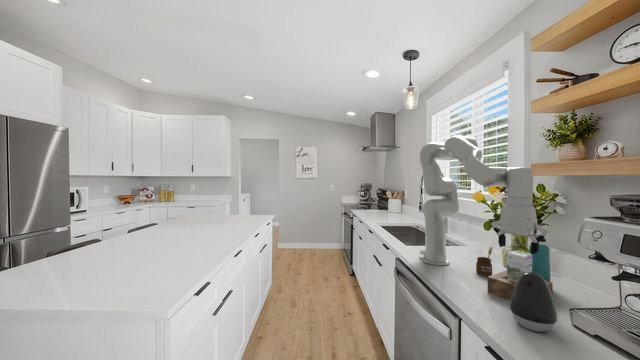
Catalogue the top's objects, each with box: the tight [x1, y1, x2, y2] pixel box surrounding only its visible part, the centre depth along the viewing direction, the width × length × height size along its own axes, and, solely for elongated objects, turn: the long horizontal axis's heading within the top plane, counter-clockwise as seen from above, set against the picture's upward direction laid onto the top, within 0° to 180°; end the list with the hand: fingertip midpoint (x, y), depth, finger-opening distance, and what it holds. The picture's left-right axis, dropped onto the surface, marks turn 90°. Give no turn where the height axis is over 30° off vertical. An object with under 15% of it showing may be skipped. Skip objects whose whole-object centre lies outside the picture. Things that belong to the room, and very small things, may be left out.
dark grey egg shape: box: [509, 272, 558, 333], centre depth 73 cm, size 10×10×15 cm
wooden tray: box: [487, 269, 554, 302], centre depth 92 cm, size 14×14×6 cm
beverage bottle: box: [528, 234, 552, 282], centre depth 100 cm, size 6×7×20 cm
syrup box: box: [506, 250, 532, 282], centre depth 92 cm, size 6×6×14 cm
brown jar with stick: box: [475, 246, 493, 278], centre depth 113 cm, size 6×6×12 cm
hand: (517, 249), depth 92 cm, fingers open, 9 cm apart
